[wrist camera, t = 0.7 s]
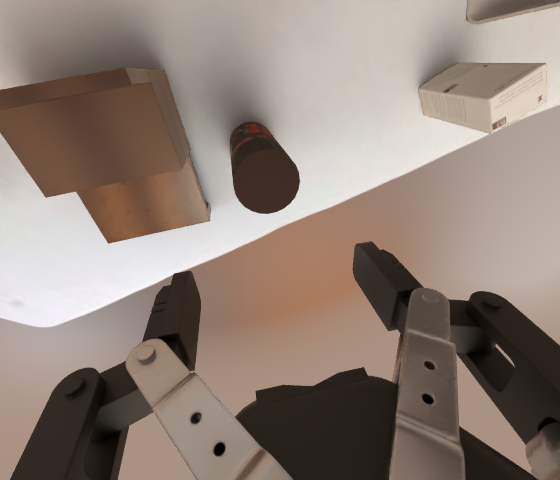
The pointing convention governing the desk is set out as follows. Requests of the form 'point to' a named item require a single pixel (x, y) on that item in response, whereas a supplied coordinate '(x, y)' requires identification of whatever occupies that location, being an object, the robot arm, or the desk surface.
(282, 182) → the deodorant
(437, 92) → the cosmetic box
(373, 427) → the robot arm
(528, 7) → the beige hollow piece
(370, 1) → the desk surface
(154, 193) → the step shelf
